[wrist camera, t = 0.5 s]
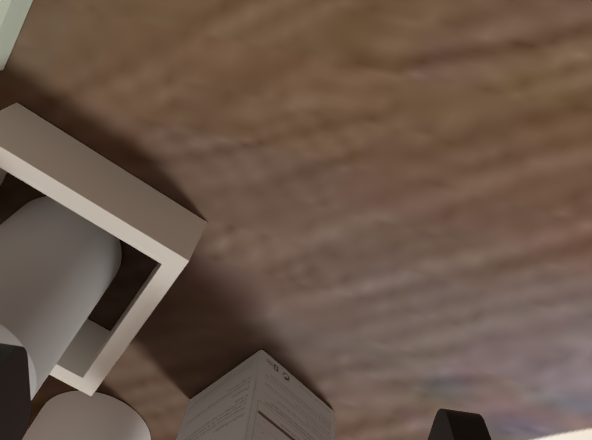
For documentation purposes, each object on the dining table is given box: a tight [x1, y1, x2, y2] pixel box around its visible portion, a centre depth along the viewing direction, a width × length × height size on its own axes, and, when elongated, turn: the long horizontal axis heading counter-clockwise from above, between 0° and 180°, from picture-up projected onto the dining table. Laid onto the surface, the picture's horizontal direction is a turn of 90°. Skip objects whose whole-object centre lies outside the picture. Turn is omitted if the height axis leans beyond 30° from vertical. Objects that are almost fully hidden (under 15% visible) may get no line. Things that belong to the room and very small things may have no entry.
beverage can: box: [0, 196, 122, 400], centre depth 26 cm, size 6×6×12 cm
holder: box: [0, 103, 207, 396], centre depth 29 cm, size 12×12×4 cm
